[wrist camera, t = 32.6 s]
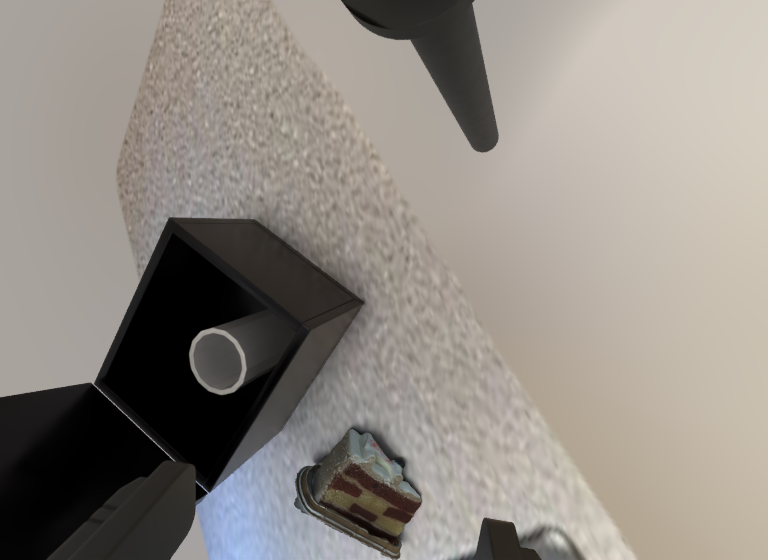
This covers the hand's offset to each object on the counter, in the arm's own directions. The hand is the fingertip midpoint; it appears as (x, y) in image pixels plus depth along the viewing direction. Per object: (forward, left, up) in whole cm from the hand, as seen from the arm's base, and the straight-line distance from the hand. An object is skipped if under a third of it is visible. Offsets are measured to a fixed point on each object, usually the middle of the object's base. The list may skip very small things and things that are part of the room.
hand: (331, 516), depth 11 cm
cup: (+11, -13, -24) cm, 30 cm away
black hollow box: (+12, -14, -25) cm, 31 cm away
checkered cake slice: (+17, +3, -25) cm, 31 cm away
